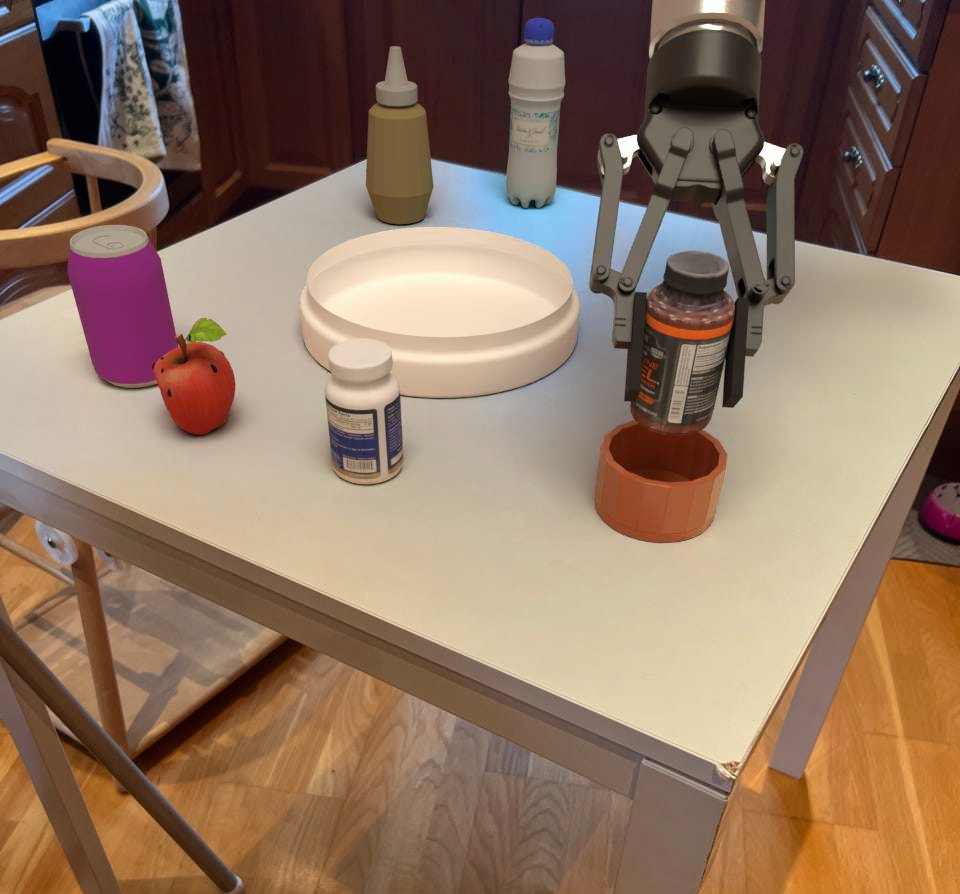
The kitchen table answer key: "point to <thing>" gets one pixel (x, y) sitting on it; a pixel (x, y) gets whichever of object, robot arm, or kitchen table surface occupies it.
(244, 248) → the kitchen table surface
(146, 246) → the beverage can
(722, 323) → the supplement bottle
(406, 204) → the squeeze bottle
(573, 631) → the kitchen table surface
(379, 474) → the pill bottle
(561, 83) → the bottle
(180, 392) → the apple
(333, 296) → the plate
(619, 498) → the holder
